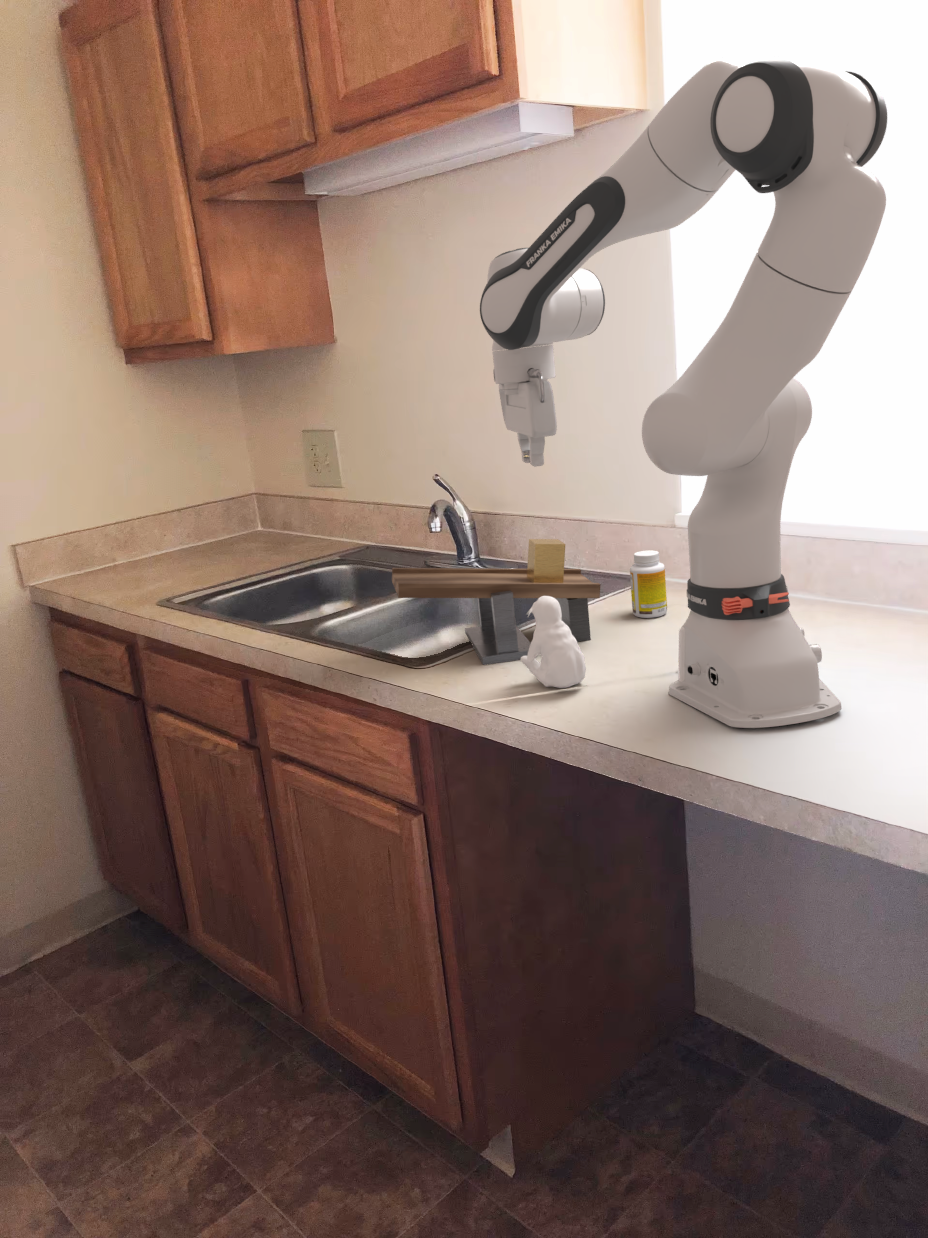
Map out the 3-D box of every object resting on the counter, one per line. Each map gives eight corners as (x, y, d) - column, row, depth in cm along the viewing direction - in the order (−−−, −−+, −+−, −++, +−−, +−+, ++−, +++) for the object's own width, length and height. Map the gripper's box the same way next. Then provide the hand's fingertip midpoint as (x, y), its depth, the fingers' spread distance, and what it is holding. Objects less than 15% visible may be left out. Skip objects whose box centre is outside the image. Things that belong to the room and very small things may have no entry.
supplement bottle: (674, 613, 162) (671, 551, 159) (647, 621, 159) (643, 558, 157) (652, 607, 167) (648, 547, 164) (625, 615, 164) (621, 554, 162)
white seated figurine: (562, 696, 130) (554, 607, 127) (520, 683, 137) (511, 598, 134) (597, 683, 134) (590, 596, 131) (555, 671, 140) (547, 588, 137)
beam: (599, 604, 150) (600, 584, 149) (398, 604, 145) (398, 583, 144) (578, 587, 161) (579, 568, 160) (391, 586, 157) (392, 567, 156)
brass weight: (563, 583, 152) (565, 544, 150) (533, 583, 151) (535, 543, 150) (555, 577, 156) (558, 539, 155) (526, 577, 155) (528, 538, 154)
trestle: (598, 647, 149) (593, 582, 146) (483, 665, 147) (475, 599, 144) (570, 620, 165) (565, 560, 162) (465, 635, 163) (458, 575, 160)
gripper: (563, 366, 136) (571, 468, 140) (530, 366, 156) (538, 455, 159) (517, 371, 135) (527, 473, 139) (490, 370, 155) (499, 460, 158)
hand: (533, 464), depth 149 cm, fingers open, 4 cm apart
